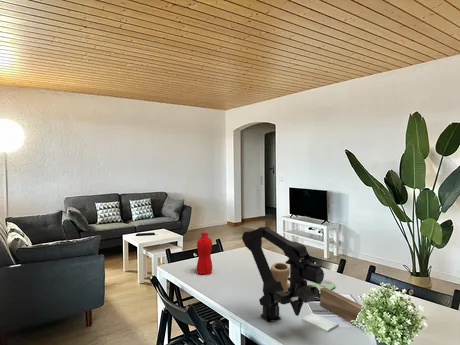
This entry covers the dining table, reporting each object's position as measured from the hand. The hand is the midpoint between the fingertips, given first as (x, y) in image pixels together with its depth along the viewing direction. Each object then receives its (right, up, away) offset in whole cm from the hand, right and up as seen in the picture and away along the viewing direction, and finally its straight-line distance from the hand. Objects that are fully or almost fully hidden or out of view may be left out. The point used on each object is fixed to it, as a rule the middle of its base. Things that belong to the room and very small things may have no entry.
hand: (296, 315), depth 121 cm
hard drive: (+11, -7, +5) cm, 14 cm away
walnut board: (+23, -6, +11) cm, 26 cm away
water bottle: (-43, -5, +67) cm, 80 cm away
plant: (+20, -6, +50) cm, 54 cm away
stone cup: (0, -6, +38) cm, 38 cm away
